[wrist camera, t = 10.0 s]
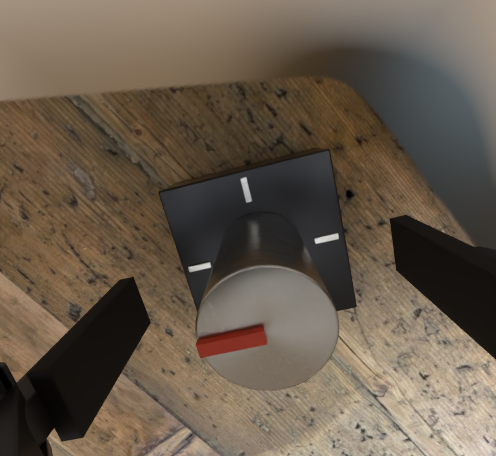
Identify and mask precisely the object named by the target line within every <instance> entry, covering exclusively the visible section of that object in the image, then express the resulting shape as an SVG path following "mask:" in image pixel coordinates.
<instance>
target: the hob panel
mask: <svg viewBox="0 0 496 456" xmlns="http://www.w3.org/2000/svg"><path fill="white" fill-rule="evenodd" d="M159 196H160V199H161V202H162V205H163V208H164V211H165V214H166V217H167V220H168V223H169V226H170V229H171V232H172V236H173V239H174V242H175V245H176V248H177V251H178V254H179V257H180V260H181V263H182V266H183V269H184V272H185V275H186V278H187V281H188V284H189V287H190V291H191V294H192V297H193V300H194V303H195V306H196V309H197V312H198V309H199V306H200V304H201V301H202V298H203V295H204V292H205V289H206V286H207V283H208V280H209V278H210V275H211V272H212V269H213V266H214V263H215V260H216V257H217V254H218V252H219V249H220V246H221V243H222V240H223V237H224V235H225V233H226V232H227V230H228V229H229V227H230V226H231V225H232V224H233V223H234V222H236V221H237V220H238V219H240V218H242V217H244V216H246V215H249V214H253V213H260V212H265V213H272V214H276V215H279V216H281V217H283V218H285V219H286V220H288V221H289V222H290V223H291V224H292V225H293V226H294V227H295V228H296V229H297V231H298V232H299V234H300V236H301V238H302V240H303V242H304V244H305V246H306V248H307V250H308V252H309V254H310V256H311V258H312V260H313V262H314V264H315V266H316V268H317V270H318V272H319V274H320V276H321V278H322V280H323V282H324V284H325V286H326V288H327V290H328V292H329V294H330V297H331V299H332V301H333V303H334V305H335V307H336V310H337V311H339V310H344V309H349V308H354V307H356V306H357V305H356V299H355V293H354V287H353V282H352V276H351V270H350V264H349V258H348V253H347V247H346V241H345V235H344V229H343V223H342V218H341V212H340V206H339V200H338V194H337V189H336V183H335V177H334V171H333V165H332V159H331V154H330V150H329V149H319V148H314V149H310V150H306V151H302V152H298V153H294V154H290V155H286V156H282V157H278V158H274V159H270V160H266V161H262V162H258V163H254V164H250V165H246V166H242V167H238V168H234V169H230V170H226V171H222V172H219V173H215V174H211V175H207V176H203V177H199V178H195V179H191V180H187V181H183V182H179V183H176V184H174V185H171V186H169V187H167V188H165V189H163V190H161V191H159Z"/></svg>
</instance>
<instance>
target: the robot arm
mask: <svg viewBox="0 0 496 456" xmlns="http://www.w3.org/2000/svg"><path fill="white" fill-rule="evenodd" d="M390 224H391V232H392V240H393V248H394V256H395V263H396V271H398V272H399V273H400V274H401V275H402V276H403V277H404V278H405V279H407V280H408V281H409V282H410V283H411V284H412V285H413V286H414V287H415V288H417V289H418V290H419V291H420V292H421V293H422V294H423V295H424V296H426V297H427V298H428V299H429V300H430V301H431V302H432V303H433V304H434V305H436V306H437V307H438V308H439V309H440V310H441V311H442V312H443V313H445V314H446V315H447V316H448V317H449V318H450V319H451V320H452V321H453V322H455V323H456V324H457V325H458V326H459V327H460V328H461V329H462V330H463V331H465V332H466V333H467V334H468V335H469V336H470V337H471V338H472V339H474V340H475V341H476V342H477V343H478V344H479V345H480V346H481V347H482V348H484V349H485V350H486V351H487V352H488V353H489V354H490V355H491V356H493V357H494V358H495V359H496V250H494V249H489V248H484V247H473V246H471V245H469V244H466V243H464V242H462V241H460V240H458V239H456V238H454V237H452V236H449V235H447V234H445V233H443V232H441V231H439V230H437V229H435V228H432V227H430V226H428V225H426V224H424V223H422V222H420V221H418V220H415V219H413V218H411V217H409V216H407V215H404V216H399V217H395V218H391V219H390ZM150 323H151V322H150V319H149V317H148V314H147V311H146V309H145V306H144V303H143V301H142V298H141V296H140V293H139V290H138V288H137V285H136V282H135V280H134V277H130V278H126V279H122V280H119V281H118V282H117V283H116V284H115V285H114V286H113V287H112V288H111V289H110V290H109V291H108V292H107V293H106V294H105V295H104V296H103V297H102V298H101V299H100V300H99V301H98V302H97V303H96V304H95V305H94V306H93V307H92V308H91V309H90V310H89V311H88V312H87V313H86V314H85V315H84V316H83V317H82V318H81V319H80V320H79V321H78V322H77V323H76V324H75V325H74V326H73V327H72V328H71V329H70V330H69V331H68V332H67V333H66V334H65V335H64V336H63V337H62V338H61V339H60V340H59V341H58V342H57V343H56V344H55V345H54V346H53V347H52V348H51V349H50V350H49V351H48V352H47V353H46V354H45V355H44V356H43V357H42V358H41V359H40V360H39V361H38V362H37V363H36V364H35V365H34V366H33V367H32V368H31V369H30V370H29V371H28V372H27V373H26V374H25V375H24V376H23V377H22V378H21V379H20V380H19V381H18V382H17V383H16V381H15V379H14V378H13V376H12V374H11V372H10V370H9V368H8V366H7V365H6V363H2V362H0V456H53V455H52V448H51V446H50V444H49V442H48V440H47V437H48V436H49V434H50V433H51V431H52V430H53V429H54V428H55V430H56V432H57V433H58V435H59V437H60V439H61V441H67V440H73V439H78V438H83V437H84V435H85V434H86V432H87V430H88V428H89V427H90V425H91V423H92V422H93V420H94V418H95V417H96V415H97V413H98V411H99V410H100V408H101V406H102V405H103V403H104V401H105V399H106V398H107V396H108V394H109V393H110V391H111V389H112V388H113V386H114V384H115V382H116V381H117V379H118V377H119V376H120V374H121V372H122V370H123V369H124V367H125V365H126V364H127V362H128V360H129V359H130V357H131V355H132V353H133V352H134V350H135V348H136V347H137V345H138V343H139V341H140V340H141V338H142V336H143V335H144V333H145V331H146V330H147V328H148V326H149V324H150Z"/></svg>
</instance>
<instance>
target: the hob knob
mask: <svg viewBox="0 0 496 456" xmlns="http://www.w3.org/2000/svg"><path fill="white" fill-rule="evenodd" d="M195 330H196V338H197V343H196V347H197V350H198V353H199V356H200V358H205V359H206V361H207V362H208V363H209V365H210V366H211V367H212V368H213V369H214V370H215V371H216V372H217V373H218V374H220V375H221V376H222V377H224V378H225V379H227V380H229V381H230V382H232V383H235V384H237V385H239V386H242V387H246V388H250V389H255V390H280V389H285V388H289V387H292V386H295V385H298V384H300V383H302V382H304V381H306V380H308V379H309V378H311V377H312V376H314V375H315V374H316V373H317V372H319V371H320V370H321V369H322V368H323V367H324V365H325V364H326V363H327V362H328V360H329V359H330V357H331V356H332V354H333V352H334V350H335V347H336V344H337V340H338V335H339V319H338V314H337V310H336V307H335V305H334V303H333V301H332V299H331V297H330V294H329V292H328V290H327V288H326V286H325V284H324V282H323V280H322V278H321V276H320V274H319V272H318V270H317V268H316V266H315V264H314V262H313V260H312V258H311V256H310V254H309V252H308V250H307V248H306V246H305V244H304V242H303V240H302V238H301V236H300V234H299V232H298V231H297V229H296V228H295V227H294V226H293V225H292V224H291V223H290V222H289V221H288V220H286V219H285V218H283V217H281V216H279V215H276V214H272V213H265V212H260V213H253V214H249V215H246V216H244V217H242V218H240V219H238V220H237V221H236V222H234V223H233V224H232V225H231V226H230V227H229V229H228V230H227V232H226V233H225V235H224V237H223V240H222V243H221V246H220V249H219V252H218V254H217V257H216V260H215V263H214V266H213V269H212V272H211V275H210V278H209V280H208V283H207V286H206V289H205V292H204V295H203V298H202V301H201V304H200V306H199V309H198V312H197V317H196V328H195Z"/></svg>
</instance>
